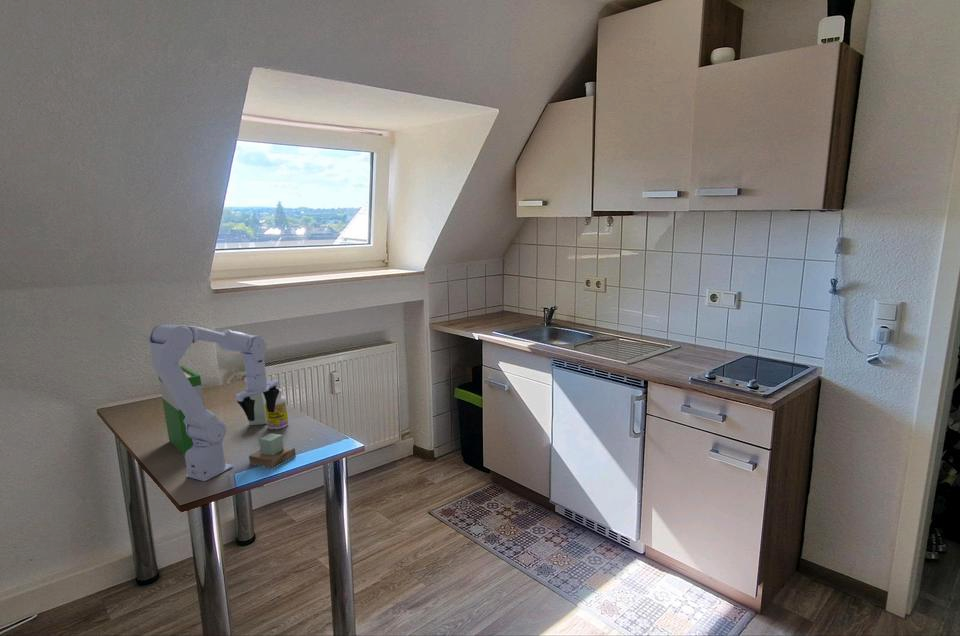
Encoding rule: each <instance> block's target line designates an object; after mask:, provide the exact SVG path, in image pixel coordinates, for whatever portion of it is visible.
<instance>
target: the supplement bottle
mask: <svg viewBox="0 0 960 636" xmlns="http://www.w3.org/2000/svg"><path fill="white" fill-rule="evenodd" d="M277 389H279V394H278V396H277V399H276V403H275V409H274V412H268V410H267V405H266V400H265V409H266V417H267V424H266V425H267V428H268V429H269V430H273V429H275V430H281V429H284V428H286V427H287V426H288V424H289V420H288V409H287V402H286V401H287V400H286V397H285V396H284V395H282V394H283V393H282V389H281V388H278V387H277Z"/></svg>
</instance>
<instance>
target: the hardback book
mask: <svg viewBox="0 0 960 636" xmlns="http://www.w3.org/2000/svg"><path fill="white" fill-rule="evenodd" d="M179 366H180V367H181V369H182V371H183V372H184V374H185V375H186V377H187V379H188V380H189V382H190V383H191V385H192V387H193V388H194V390H195V391H196V393H197V395H198V396H199V398H200V399H201V401H202V403H203V404H204V406H205V407H206V405H205V400H204V392H203V387H202V386H203V385H202V379H201V375H200V374H198V373H197V372H195V371H193V370H191V369H190V368H188V367H186V366H184V365H179ZM158 381H159V387H160V393H161V399H162V405H163V411H164V416H165V424H166V428H167V429H166V431H167V436H168V441H169V443H170V444H171V445H172V444H173V445H174V446H175V447H176V448H177V449H176V448H175V447H174V448H175V449H176V450H177V451H178V452H179V453H181V455H183V456H184V457H185V453H186V451H187V450H189V449H190V448H191V447H192V446H193V445H194V443H193V441H192V438H190V437H189V436H188V435H187V433H186V426H185V424H184V422H183V421H184V419H185V415H184V414H183V412H182V411H181V409H180V408H179V406H178V405H177V403H176V402H175V400H174V398H173V397H172V395H171V394H170V392H169V391H168V389H167V388H166V386H165V385H164V383H163V382H162V380H161V379H160V377H159V376H158ZM173 445H172V446H173Z"/></svg>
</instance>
